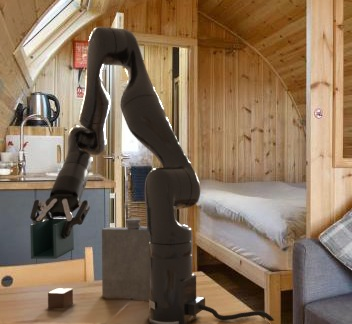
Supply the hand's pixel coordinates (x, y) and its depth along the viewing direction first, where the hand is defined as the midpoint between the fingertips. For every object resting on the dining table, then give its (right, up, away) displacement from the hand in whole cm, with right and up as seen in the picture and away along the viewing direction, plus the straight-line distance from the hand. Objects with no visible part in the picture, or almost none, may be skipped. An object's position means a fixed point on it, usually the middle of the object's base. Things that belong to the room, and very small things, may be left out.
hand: (50, 236), depth 111 cm
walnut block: (+4, -15, 0) cm, 15 cm away
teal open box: (0, -4, +2) cm, 5 cm away
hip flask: (+19, -17, +6) cm, 26 cm away
